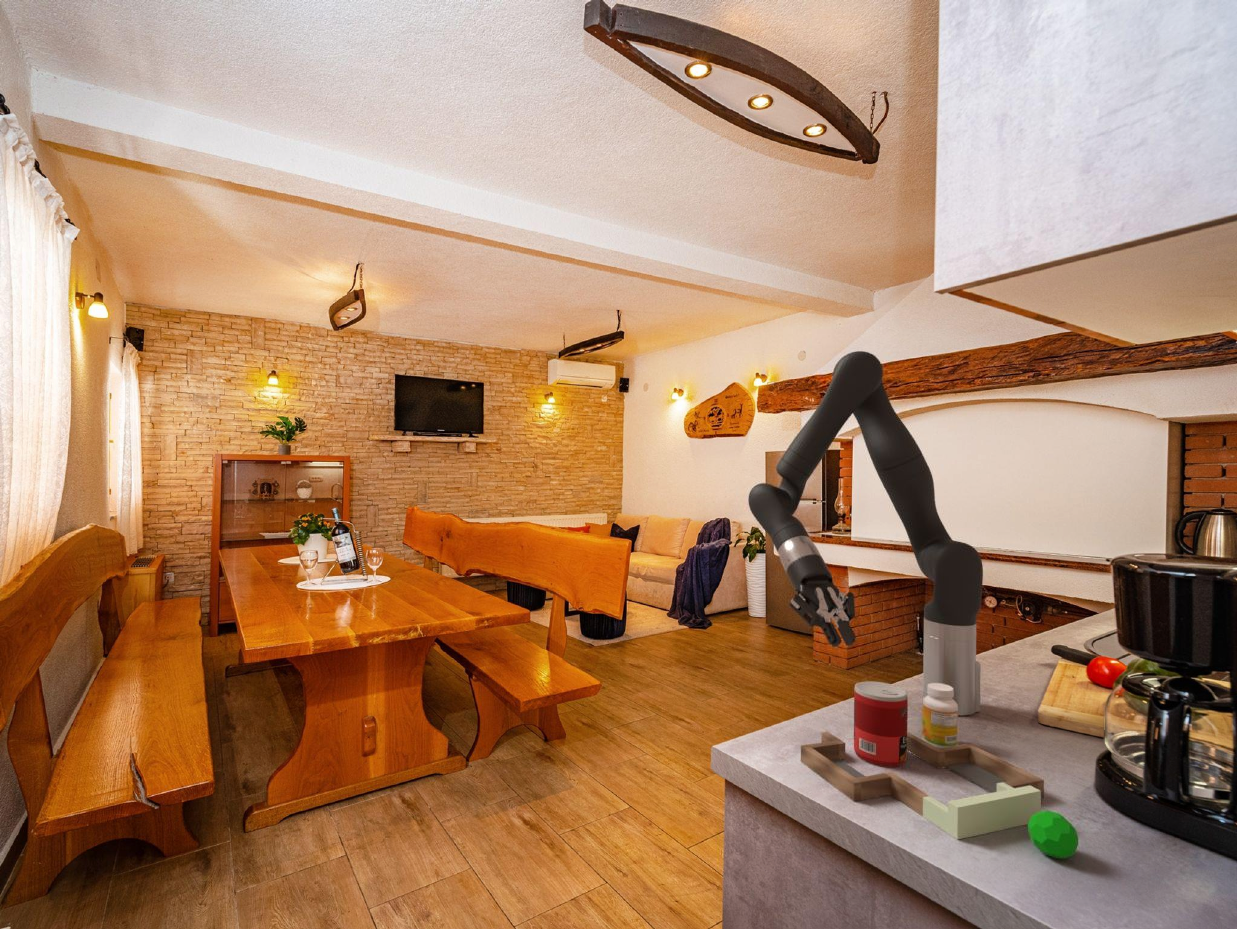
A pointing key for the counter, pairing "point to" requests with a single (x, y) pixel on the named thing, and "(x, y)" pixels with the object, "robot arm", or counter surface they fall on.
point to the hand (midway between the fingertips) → (844, 643)
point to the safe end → (984, 811)
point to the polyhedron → (1053, 834)
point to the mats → (964, 770)
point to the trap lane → (893, 785)
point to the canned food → (880, 723)
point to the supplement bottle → (940, 716)
